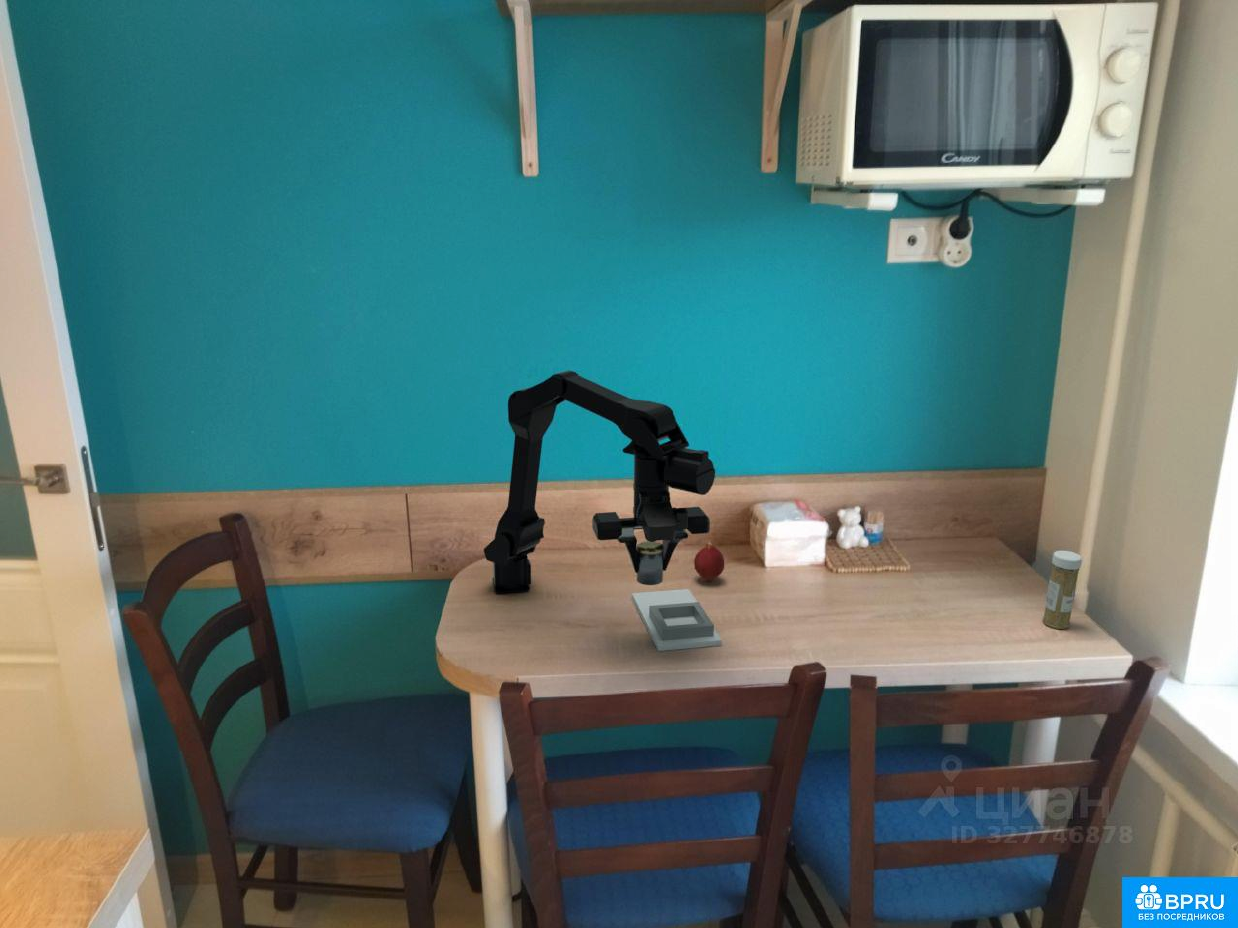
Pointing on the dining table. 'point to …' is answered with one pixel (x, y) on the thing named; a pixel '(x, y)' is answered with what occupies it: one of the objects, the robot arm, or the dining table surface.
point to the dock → (675, 620)
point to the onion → (709, 562)
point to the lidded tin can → (650, 563)
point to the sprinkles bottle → (1061, 589)
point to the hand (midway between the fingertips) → (650, 570)
